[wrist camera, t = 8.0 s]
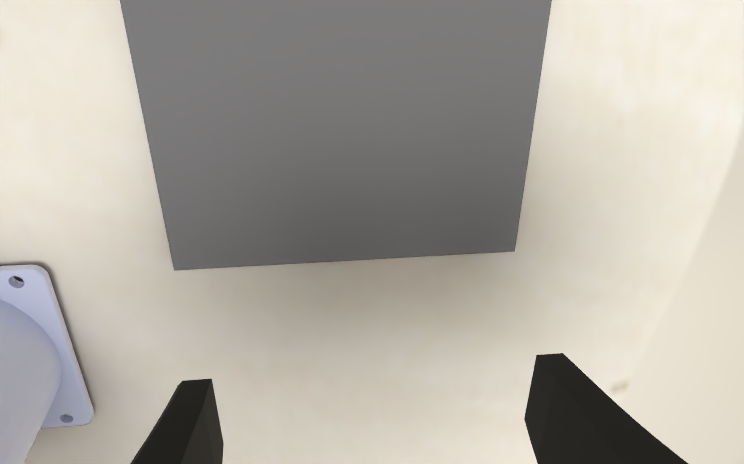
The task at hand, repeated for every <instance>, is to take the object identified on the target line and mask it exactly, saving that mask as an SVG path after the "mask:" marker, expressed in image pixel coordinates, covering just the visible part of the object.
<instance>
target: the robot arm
mask: <svg viewBox="0 0 744 464" xmlns="http://www.w3.org/2000/svg"><path fill="white" fill-rule="evenodd" d="M13 276H17V277H20V278H22V279H23V281H24V282H20V281H17V280H16V279H15V278H14V277H13ZM66 414H68V415H70V416H68V415H66ZM93 415H94V410H93V406H92V403H91V400H90V397H89V394H88V391H87V388H86V385H85V382H84V379H83V376H82V373H81V370H80V367H79V364H78V361H77V358H76V355H75V352H74V349H73V346H72V343H71V340H70V337H69V334H68V331H67V328H66V325H65V322H64V319H63V316H62V313H61V310H60V307H59V304H58V301H57V298H56V295H55V292H54V289H53V286H52V283H51V280H50V277H49V274H48V273H47V271H46V270H45V269H44V268H42V267H40V266H38V265H31V264H30V265H11V266H0V464H24V462H25V459H26V457H27V455H28V453H29V451H30V449H31V447H32V445H33V443H34V440H35V438H36V436H37V434H38V432H39V430H40V428H53V427H66V426H78V425H85V424H88V423H89V422H90V421H91V420H92V418H93ZM525 423H526V426H527V430H528V433H529V437H530V440H531V444H532V447H533V450H534V453H535V456H536V459H537V463H538V464H688V463H687V462H685V461H684V460H683V459H681V458H680V457H679V456H678V455H676V454H675V453H674V452H673V451H671V450H670V449H669V448H668V447H666V446H665V445H664V444H662V443H661V442H660V441H659V440H658V439H656V438H655V437H654V436H653V435H652V434H651V433H649V432H648V431H647V430H646V429H645V428H643V427H642V426H641V425H640V424H639V423H638V422H636V421H635V420H634V419H633V418H632V417H631V416H630V415H629V414H627V413H626V412H625V411H624V410H623V409H622V408H621V407H620V406H618V405H617V404H616V403H615V402H614V401H613V400H612V399H611V398H610V397H609V396H608V395H606V394H605V393H604V392H603V391H602V390H601V389H600V388H599V387H598V386H597V385H596V384H595V383H594V382H593V381H592V380H590V379H589V378H588V377H587V376H586V375H585V374H584V373H583V372H582V371H581V370H580V369H579V368H578V367H577V366H576V365H575V364H574V363H573V362H571V361H570V360H569V359H568V358H567V357H566V356H565V355H564V354H563V353H560V354H546V355H537V356H536V361H535V366H534V371H533V377H532V382H531V387H530V392H529V398H528V403H527V408H526V413H525ZM222 458H223V439H222V433H221V428H220V422H219V417H218V411H217V406H216V400H215V395H214V389H213V384H212V379H202V380H188V381H182V382H181V383H180V384H179V385H178V386H177V388H176V390H175V392H174V394H173V396H172V397H171V399H170V401H169V403H168V405H167V406H166V408H165V410H164V411H163V413H162V415H161V417H160V418H159V420H158V422H157V423H156V425H155V426H154V428H153V430H152V431H151V433H150V435H149V436H148V438H147V439H146V441H145V442H144V444H143V445H142V447H141V448H140V450H139V451H138V453H137V454H136V456H135V457H134V459H133V460H132V462H131V463H130V464H222Z"/></svg>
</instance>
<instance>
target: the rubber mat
mask: <svg viewBox="0 0 744 464" xmlns="http://www.w3.org/2000/svg"><path fill="white" fill-rule="evenodd" d="M551 1H552V0H120V3H121V8H122V13H123V18H124V23H125V28H126V33H127V38H128V43H129V48H130V53H131V58H132V63H133V68H134V73H135V78H136V83H137V88H138V93H139V98H140V103H141V108H142V113H143V118H144V123H145V128H146V133H147V138H148V143H149V148H150V153H151V158H152V163H153V168H154V173H155V178H156V183H157V188H158V193H159V198H160V203H161V207H162V212H163V217H164V222H165V227H166V232H167V237H168V242H169V247H170V252H171V257H172V262H173V267H174V270H189V269H207V268H225V267H243V266H261V265H279V264H297V263H315V262H333V261H351V260H369V259H387V258H405V257H423V256H440V255H458V254H476V253H494V252H512V251H515V245H516V238H517V231H518V225H519V218H520V211H521V204H522V198H523V191H524V184H525V177H526V170H527V164H528V157H529V150H530V143H531V137H532V130H533V123H534V116H535V110H536V103H537V96H538V89H539V82H540V76H541V69H542V62H543V55H544V49H545V42H546V35H547V28H548V21H549V15H550V8H551Z"/></svg>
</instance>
